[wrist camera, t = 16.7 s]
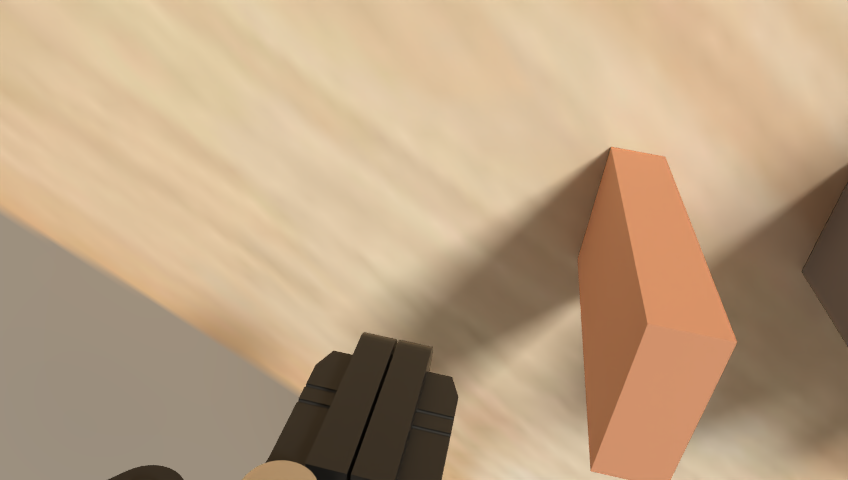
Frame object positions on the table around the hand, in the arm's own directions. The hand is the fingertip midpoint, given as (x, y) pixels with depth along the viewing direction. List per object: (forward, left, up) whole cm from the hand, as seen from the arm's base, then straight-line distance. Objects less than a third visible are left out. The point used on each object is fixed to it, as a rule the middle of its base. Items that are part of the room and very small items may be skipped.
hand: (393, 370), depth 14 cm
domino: (+5, -4, -13) cm, 15 cm away
